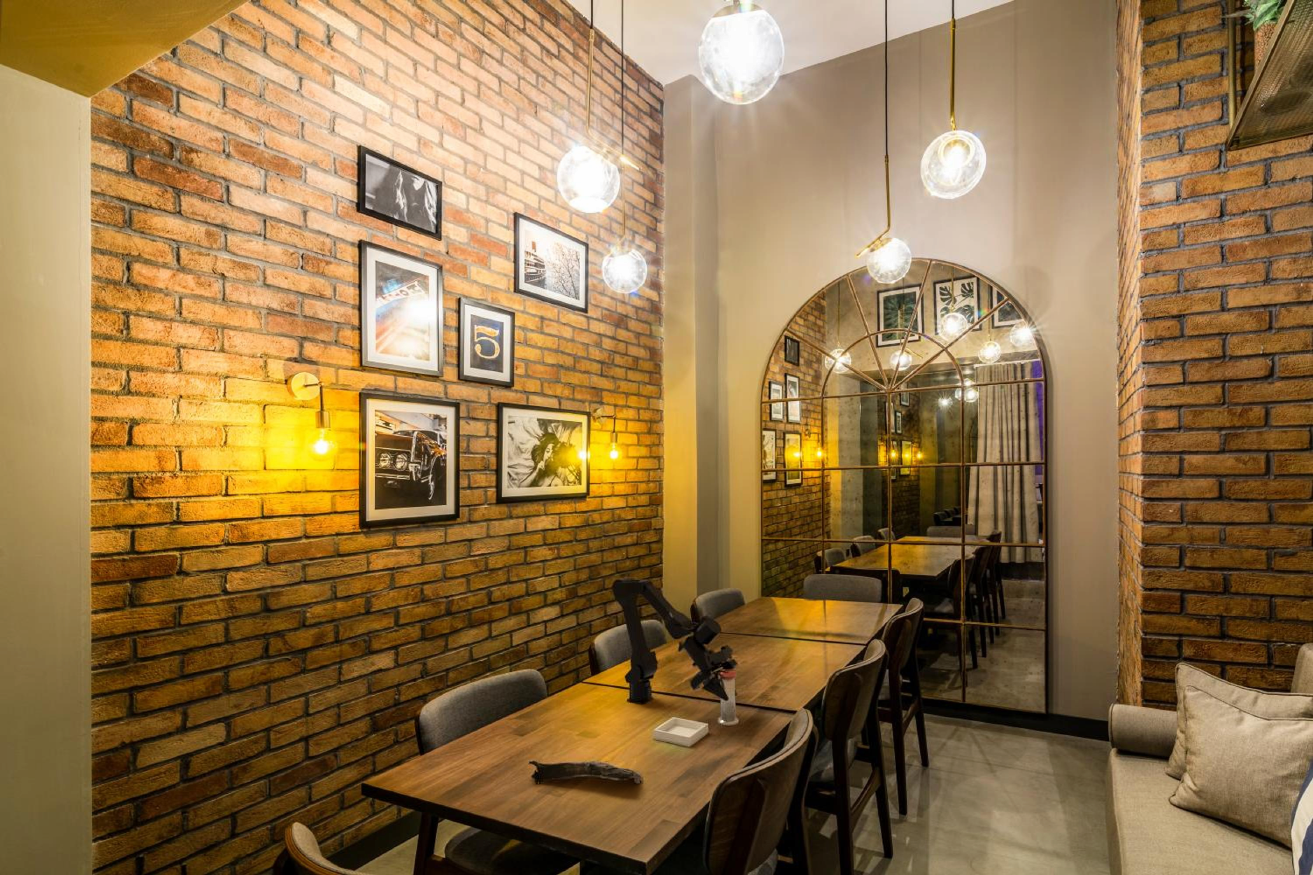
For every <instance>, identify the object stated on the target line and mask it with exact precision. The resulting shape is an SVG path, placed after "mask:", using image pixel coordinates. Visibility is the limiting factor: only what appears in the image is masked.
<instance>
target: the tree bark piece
mask: <svg viewBox="0 0 1313 875" xmlns="http://www.w3.org/2000/svg"><path fill="white" fill-rule="evenodd" d="M528 765H529V766H531V765H533V766H534V767H535V770H534V772H533V773H532V775H531V776H530V777H531V778H532V779H534V782H535V783H538V782H539V783H540V784H541V783H542V782H543V781H546V782H551V781H553V780H563V779H574V778H576V777H587V778H591V777H595V778H596V777H599V778H601V779H608V780H611V781H626V780H627V781H628V780H630V779H631V778H632V779H634V780H633V781H634V782H635V783H636V784H639V785H640V784H641V782H643V781H644V780H643V779H644V777H643V776H642V775H641V774H639V773H637V771H635V770H633V769H629V768H625V767H618V766H616V765H613V764H610V763H605V762H601V761H599V760H593V761H592V760H590V761H581V762H579V761H566V762H565V761H564V762H555V763H542V762H538V761H535V760H532V761H528Z"/></svg>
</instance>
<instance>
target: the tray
mask: <svg viewBox="0 0 1313 875" xmlns="http://www.w3.org/2000/svg"><path fill="white" fill-rule="evenodd" d="M652 734H653V735H652V736H653V740H656V741H660V742H663V743H664V742H665V743H668V742H669V744H673V745H679V746H682V747H686V748H690V747H692V746H693V745H694V744H696V743H697V742H699V741H700V740H701V739H702V738H704V737H705V736H706V735H707V734H709V723H705V722H701V721H700V722H699V721H696V720H691V719H685V718H679V717H675V716H673V717H671V718H670V719H668V720H666V721H665V722H663V723H662V724H661V725H659V726H657V727H656V728H653V732H652Z"/></svg>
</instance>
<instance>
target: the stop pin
mask: <svg viewBox="0 0 1313 875" xmlns="http://www.w3.org/2000/svg"><path fill="white" fill-rule="evenodd" d="M718 673H719V676H720V685H721V686H722V688H723V689H724V691H725V693H726V694H727V696H728V698H729V700H728V701H725V700H723V699H721V698H720V716H719V717H718V718H717V723H718V724H719V725H721V726H725V727H726V726H727V727H730V726H731V727H733V726H736V725H738V724H739V722H740V721H739V718H738V717H737V716H736V697H735V690H736V688H735V687H736V683H735V682H736V681H735V678H736V677H737V670H736V669H721V670H719V671H718Z"/></svg>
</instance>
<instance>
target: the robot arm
mask: <svg viewBox="0 0 1313 875" xmlns="http://www.w3.org/2000/svg"><path fill="white" fill-rule="evenodd" d="M611 591H612V594H613V596H614V599H615V601H616V602H617V603H618V605H619V606H620V607H621V610H622V613H623V618H624V622H625V626H626V629H627V633H628V634H627V635H628V639H629V643H630V646H631V651H632V653H631V657H630V661H629V663H630V670H629V671H628V672H627V673H626V674H625V675H624V679H625V682H626V684H628V688H629V689H628V692H629V693H628V694H629V697H628V698H627V699H626V702H630V703H634V704H635V703H636V704H639V705H644V704H646V703H648V702H650V701H651V700H653V699H654V697H653V696H652V695H653V694H652V693H653V692H652V691H653V690H652V689H653V688H652V685H651V680H653V679H654V677H655V674H656V673H657V671H658V668H659V666H658V664H659V661H658V659H657V653H656V651H655V650H652V651H651V650H650V649H649V647H648V645H647V640H646V637H645V633H644V629H643V624H642V621H641V617H640V612H639V608H638V605H637V604H638V603H637V601H638V597H639V594H640V595H642V597H643V598H644V599H645V600H646V601H647V603H648V604H649V605H650V607H651V608H652V609H653V610H654V611H655V612H656V613H657V614H658V615H659V617H660V618H661V619H662V621H663V624H664V628H665V630H666V631H667V633H668V635H669V636H670V637H671V638H672V639H673V640H681V639H684V638H685V639H684V640H681V641H679V642H678V650H677V651H678V652H682V651H685V652H686V653H687V655H688V656H689V657H690V659H691V660H692V661H693V663H692V664H691V665H692V667H693V668H695V667H697V668H698V670H699V671H698V672H697V673H695V675H694V676H693V677H692V678H691V679H690V680H689V686H690V687H691V689H692V690H693V692H694V691H696V690H699V689H700V687H701V685H703V686H702V687H701V690H702V691H703V690H705V691H706V692H708V693H710V694H712V695H714V696H716V697H718V698H719V699H720V700H721V699H723V700H725V701H728V700H729V698H728V696H727V694H726V693H725V691H724V689H723V688H722V686H721V685H720V676H719V673H718V671H719V670H721V669H733V670H735V668H736V667H737V666H738V665H739V664H738V662H737V661H736V659H735V658H733V656H732V655H733V652H734V650H733V649H732V648H731V647H730V646H729V645H728V644H726V645H723V646H721V647H720V650H718V651H716V652H715V650H713V649H712V648H711V649H710V650H709V648H708V647H707V645H710V644H712V643H713V641H714V640H715V639H716V638H717V637H718V636H719V635H720V633H721V632H722V627H721V625H720V623H719V622H717V621H716V620H715V619H713V618H711V617H710V616H708V615H707V614H706V615H703V616H702V617H701V618H700V621H698V622H694V621H692V619H691V618H690V617H688V616H687V615H685V613H682V612H681V611H678V610H677V609H675V608H674V606H672V605H671V603H670V602H669V601H668V600H667V599H666V597H664V595H663V594H662V593H661V592H660V590H658V589H657V588H656V586H655V585H654V582H653V581H652V580H651V579H635V578H634V577H631V576H629V577H622V578H617V579H614V581H613V583H612V585H611ZM737 696H738V693H737V690H736V689H735V698H736V697H737Z"/></svg>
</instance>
